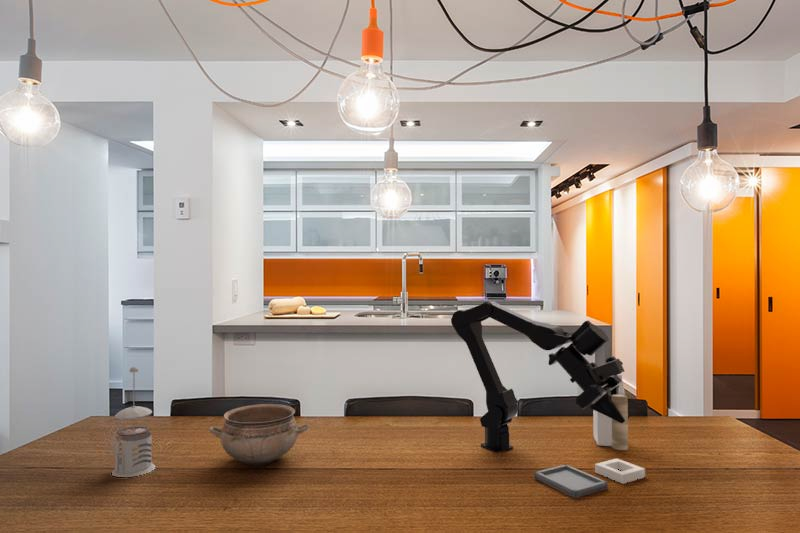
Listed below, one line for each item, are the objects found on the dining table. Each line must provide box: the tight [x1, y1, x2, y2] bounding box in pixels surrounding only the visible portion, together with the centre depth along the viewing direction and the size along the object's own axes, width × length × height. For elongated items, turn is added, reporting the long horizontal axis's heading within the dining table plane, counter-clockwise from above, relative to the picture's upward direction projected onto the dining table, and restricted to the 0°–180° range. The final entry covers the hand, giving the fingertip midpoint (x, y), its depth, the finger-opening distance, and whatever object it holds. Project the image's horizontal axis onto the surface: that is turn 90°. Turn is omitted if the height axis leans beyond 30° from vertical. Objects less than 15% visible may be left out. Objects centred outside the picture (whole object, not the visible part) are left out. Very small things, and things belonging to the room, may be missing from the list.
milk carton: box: [592, 374, 626, 447], centre depth 144 cm, size 7×7×19 cm
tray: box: [534, 463, 609, 499], centre depth 116 cm, size 12×10×2 cm
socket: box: [594, 457, 646, 485], centre depth 121 cm, size 8×8×2 cm
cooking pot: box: [208, 403, 311, 467], centre depth 131 cm, size 25×19×12 cm
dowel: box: [611, 394, 629, 451], centre depth 121 cm, size 4×4×12 cm
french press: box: [106, 366, 157, 477], centre depth 124 cm, size 10×12×25 cm
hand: (625, 420), depth 120 cm, fingers closed on dowel, 3 cm apart
